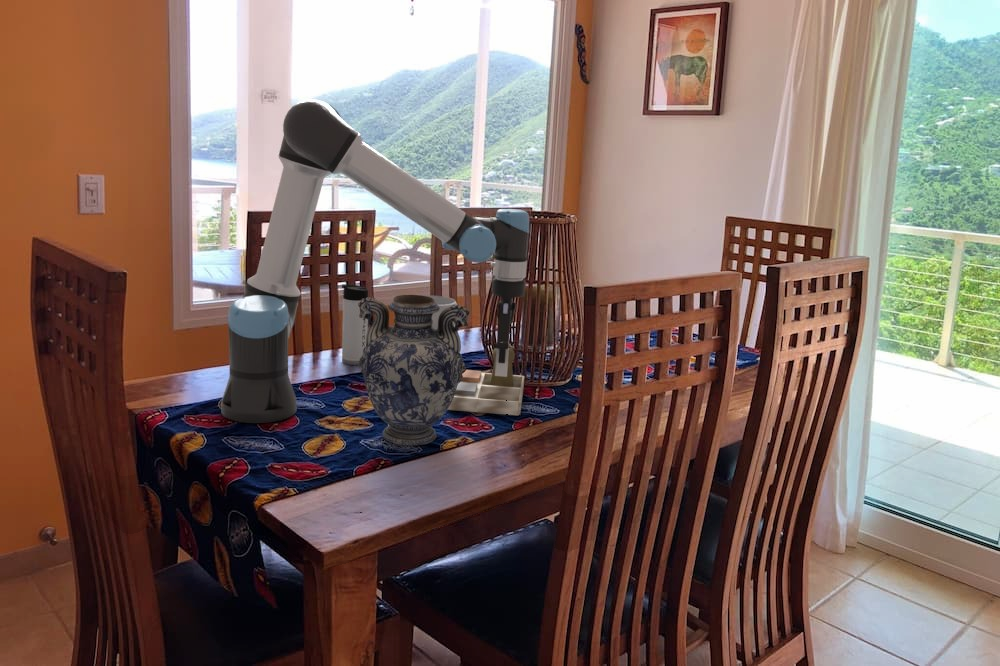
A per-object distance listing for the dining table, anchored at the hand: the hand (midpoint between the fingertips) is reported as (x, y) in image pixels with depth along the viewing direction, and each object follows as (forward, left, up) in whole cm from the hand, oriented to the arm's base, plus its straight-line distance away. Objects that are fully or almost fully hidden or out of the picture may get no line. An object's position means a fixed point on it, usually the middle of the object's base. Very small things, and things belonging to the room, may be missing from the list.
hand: (502, 367), depth 193 cm
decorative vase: (-16, -32, -6) cm, 37 cm away
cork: (0, 0, -6) cm, 6 cm away
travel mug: (-39, +16, -6) cm, 42 cm away
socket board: (-3, -5, -6) cm, 8 cm away
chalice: (-21, +28, -6) cm, 36 cm away
